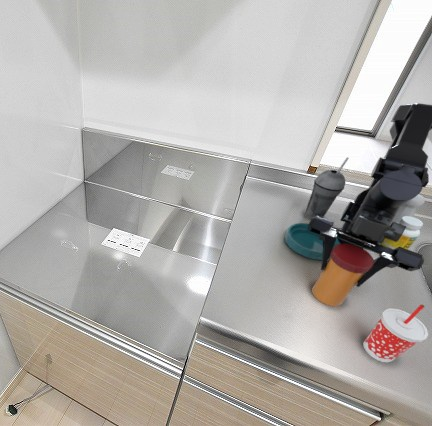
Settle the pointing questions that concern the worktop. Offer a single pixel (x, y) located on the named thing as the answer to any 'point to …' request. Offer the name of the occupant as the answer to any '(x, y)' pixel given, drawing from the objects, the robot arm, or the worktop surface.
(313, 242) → the dish
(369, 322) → the worktop surface
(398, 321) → the beverage cup
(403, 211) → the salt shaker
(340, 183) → the beverage cup
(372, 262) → the lid
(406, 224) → the supplement bottle
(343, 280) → the jar
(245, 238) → the worktop surface
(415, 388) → the worktop surface
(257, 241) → the worktop surface
